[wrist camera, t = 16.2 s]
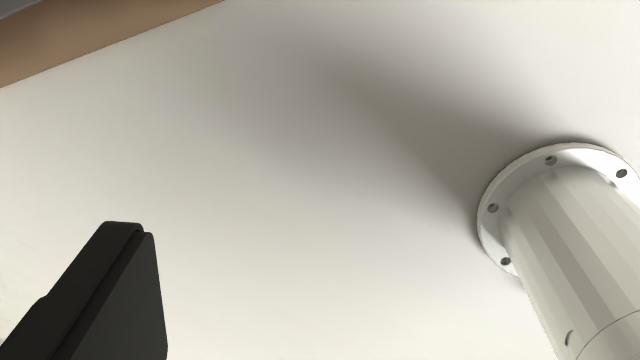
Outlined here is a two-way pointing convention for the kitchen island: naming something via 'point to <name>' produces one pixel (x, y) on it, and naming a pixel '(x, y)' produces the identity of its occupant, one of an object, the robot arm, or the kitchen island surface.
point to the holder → (75, 29)
